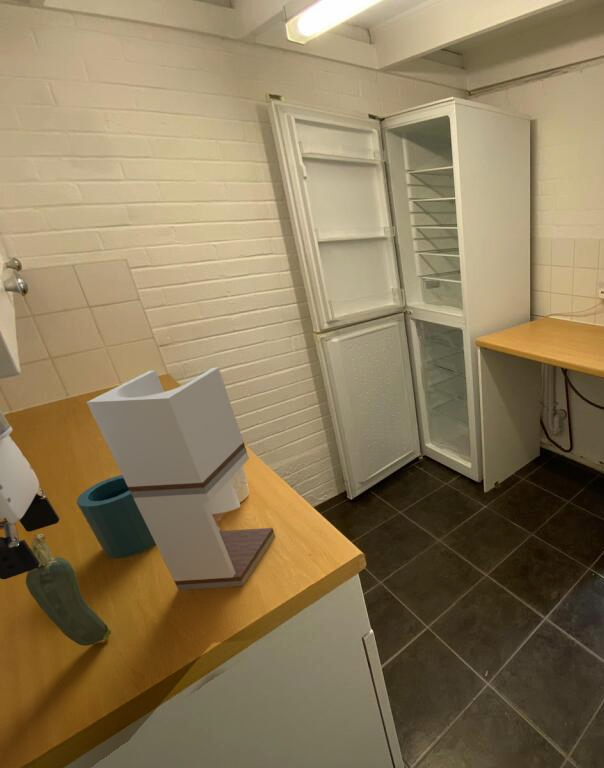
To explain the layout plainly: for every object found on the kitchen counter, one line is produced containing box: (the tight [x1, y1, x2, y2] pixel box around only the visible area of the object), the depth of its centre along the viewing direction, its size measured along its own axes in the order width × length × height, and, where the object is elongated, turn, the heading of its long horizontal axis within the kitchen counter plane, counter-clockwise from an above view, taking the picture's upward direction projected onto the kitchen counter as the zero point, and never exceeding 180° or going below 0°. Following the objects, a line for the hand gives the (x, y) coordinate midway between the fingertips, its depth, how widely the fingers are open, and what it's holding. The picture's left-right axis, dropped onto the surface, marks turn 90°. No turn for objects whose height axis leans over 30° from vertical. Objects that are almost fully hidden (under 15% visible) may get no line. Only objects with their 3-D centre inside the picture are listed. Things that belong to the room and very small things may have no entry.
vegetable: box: [25, 533, 112, 647], centre depth 57 cm, size 4×4×20 cm
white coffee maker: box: [86, 367, 276, 591], centre depth 68 cm, size 11×11×35 cm
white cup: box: [231, 465, 250, 503], centre depth 89 cm, size 8×8×10 cm
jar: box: [76, 474, 156, 559], centre depth 78 cm, size 10×10×12 cm
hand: (33, 547), depth 54 cm, fingers open, 9 cm apart
